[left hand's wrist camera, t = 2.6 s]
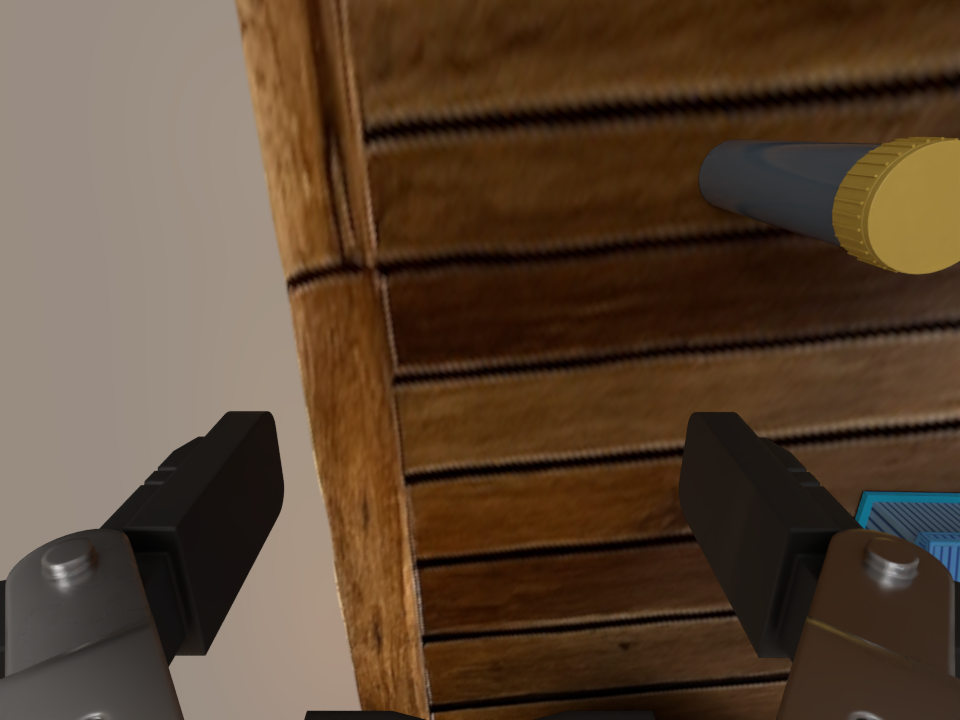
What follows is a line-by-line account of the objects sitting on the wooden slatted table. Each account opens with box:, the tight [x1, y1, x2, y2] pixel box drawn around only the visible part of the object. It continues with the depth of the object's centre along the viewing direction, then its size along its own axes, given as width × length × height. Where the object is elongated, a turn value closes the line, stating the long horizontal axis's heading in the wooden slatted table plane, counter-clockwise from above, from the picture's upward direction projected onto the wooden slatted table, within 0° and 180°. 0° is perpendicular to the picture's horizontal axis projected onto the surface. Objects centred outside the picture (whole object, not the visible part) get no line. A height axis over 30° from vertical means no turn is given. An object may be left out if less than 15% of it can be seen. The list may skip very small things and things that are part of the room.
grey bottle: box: [699, 139, 881, 248], centre depth 29 cm, size 4×4×18 cm
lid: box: [832, 137, 960, 274], centre depth 22 cm, size 5×5×2 cm
